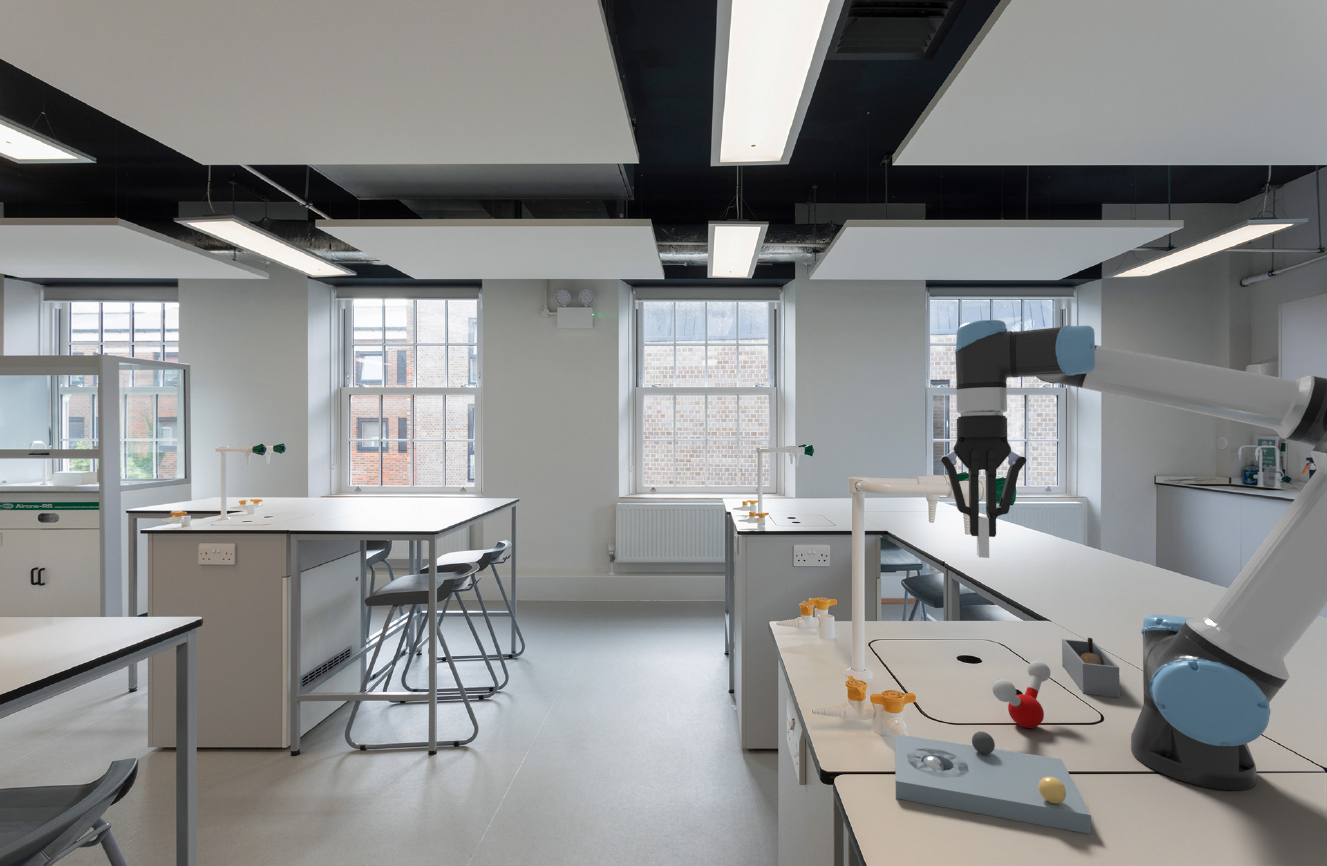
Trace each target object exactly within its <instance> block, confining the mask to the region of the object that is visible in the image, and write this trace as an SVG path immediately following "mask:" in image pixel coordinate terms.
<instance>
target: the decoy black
mask: <svg viewBox="0 0 1327 866" xmlns="http://www.w3.org/2000/svg"><path fill="white" fill-rule="evenodd" d="M971 744H972V746H974V748H975V749H976V750H977V751H978V752H979V753H982V754H990V753H991V752H992V751H993V750H994V749H996V748H995V747H996V743H995V740H994V739H993V737H992V736H991V735H990V733H988V732H985V731H977V732H975V733H974V734H973V735H972V737H971Z"/></svg>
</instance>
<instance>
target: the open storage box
mask: <svg viewBox="0 0 1327 866" xmlns="http://www.w3.org/2000/svg"><path fill="white" fill-rule="evenodd" d="M1084 653H1089V646H1088V640H1076V639H1065V638H1063V639H1062V638H1061V659H1062V660H1061V661H1062V663H1061V664H1062V667H1063V669H1064V670H1065V671H1066V673H1067V674H1068V675H1069V677H1070V678H1071V679H1072V680H1073V682H1074V683H1075V685H1076V686H1077V687H1078V688H1079V687H1080V689H1079V690H1080V691H1081V692H1082V694H1084V695H1085V694H1086V695H1093V696H1101V697H1110V698H1111V697H1113V698H1117V699H1118V698H1119V699H1120V693H1121V692H1120V689H1121V688H1120V666H1118V664H1117V663H1116V662H1115V661H1114V660H1112V658H1111V657H1109V655H1108V654H1107V653H1106V652H1104V651H1103V649H1102V648H1100V647H1099V645H1097V643H1096V642H1095V641H1093V644H1092V654H1095V655H1097V656H1099V657H1100V658H1101V659H1102V661H1103V665H1098V664H1088V663H1084V661H1083V660H1082V659H1081V658H1080V656H1081V655H1082V654H1084Z"/></svg>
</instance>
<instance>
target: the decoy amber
mask: <svg viewBox="0 0 1327 866" xmlns="http://www.w3.org/2000/svg"><path fill="white" fill-rule="evenodd" d="M1039 791H1040V794H1041V795H1042V797H1043V798H1044V799H1045V800H1047V801H1048V802H1050V803H1054V804H1059V803H1061V802H1063V801H1064V800H1065V798H1066V789H1065V787H1064V785H1063V784H1062V783H1061V782H1060V781H1059V780H1058V779H1056V778H1054V777H1044V778H1042V779H1041V780H1040V782H1039Z"/></svg>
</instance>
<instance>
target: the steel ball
mask: <svg viewBox="0 0 1327 866" xmlns="http://www.w3.org/2000/svg"><path fill="white" fill-rule="evenodd" d="M922 763H923V764H924V765H926V766H927V767H930V768H932V769H935V770H941V771H944V765H943V763H942V762H941V761H940V760H939V759H938V758H937V757H934V756H928V757H926V758H924V760H923V761H922Z"/></svg>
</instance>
